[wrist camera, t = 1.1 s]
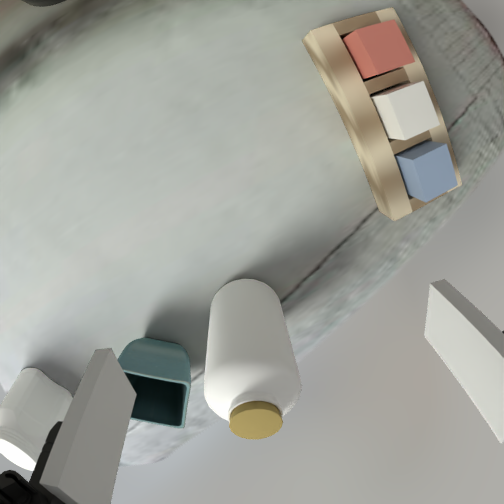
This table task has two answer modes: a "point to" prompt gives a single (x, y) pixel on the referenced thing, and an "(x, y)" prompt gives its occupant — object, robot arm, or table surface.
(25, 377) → the jar
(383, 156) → the wooden block holder
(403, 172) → the blue short block
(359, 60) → the red key
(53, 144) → the table surface
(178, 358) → the flower pot
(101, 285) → the table surface
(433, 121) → the white key
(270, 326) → the potion bottle
